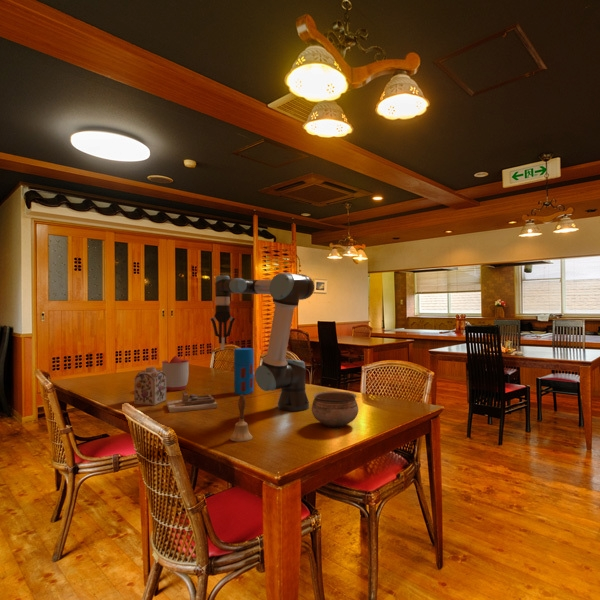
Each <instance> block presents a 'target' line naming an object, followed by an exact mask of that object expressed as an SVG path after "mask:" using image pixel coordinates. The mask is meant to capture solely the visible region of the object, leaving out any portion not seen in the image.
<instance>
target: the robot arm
mask: <svg viewBox="0 0 600 600" xmlns="http://www.w3.org/2000/svg"><path fill="white" fill-rule="evenodd" d="M214 282H215V283H214V284H215V285H214V287H215V289H214V290H215V294H214V295H215V296H214V297H215V298H214V299H215V300H214V301H215V303H214V304H215V307H214V308H215V312H214V313H215V314H214V315H213V317H211V318H210V319H209V320H210V321H211V323H212V327H213V332H214V336H215V337H217V338H218V344H220V350H221V351H225V344H226V343H227V338H228V337H229V336H230V335H231V332H232V328H233V323H234V321H235V320H236V319H235V318H234V317H232V315H231V306H230V304H231V301H230V300H231V295H230V294H248V295H249V294H251V295H270V296H271V298H272V302H273V304H274V311H273V318H272V323H271V329H270V334H269V341H268V345H267V351H266V356H264V357H263V358H262V362H261V365H259V366H257V368H256V369H255V371H254V379H255V382H256V384H257V386H258V388H260V389H261V390H262V391H266V392H269V391H270V392H272V391H276V390H280V395H279V398H278V401H277V409H279V410H280V411H285V412H286V411H287V412H300V411H301V412H302V411H305V410H308V409H309V408H310V402H309V399H308V395H307V392H306V370H307V369H306V362H305V361H303V360H299V359H291V358H286V356H287V351H288V344H289V340H290V339H289V338H290V334H291V327H292V324H293V323H292V322H293V316H294V312H295V308H297V307H298V306H299V302H300V301H301V300H302V301H303V300H307V299H309V298H310V297H311V296H312V295H313V293H314V291H315V283H314V281H313V279H312V278H311V277H310V276H308V275H306V274H298V273H290V272H280V273H276V275H274V277H272V279H247V278H242V277H235V278H234V277H233V278H230V276H229V275H217V276H215V281H214ZM216 321H217V323H218V329H217V324H216ZM228 322H229V324H228ZM227 324H228V327H227ZM222 325H223V326H222ZM222 331H223V333H222Z"/></svg>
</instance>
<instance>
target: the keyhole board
mask: <svg viewBox="0 0 600 600" xmlns="http://www.w3.org/2000/svg"><path fill="white" fill-rule="evenodd" d="M189 396H190V397H191V399H193V400H196V399H198V397H196V396H197V394H195V393H194V394H193V393H192V394H189ZM166 407H167V410H168V412H169V414H171V413H181V412H192V411H200V410H211V409H218V403H217V402H216V401H215V403H204V404H194V405H185V404H184V403H183V401H182V399H175V400H166Z"/></svg>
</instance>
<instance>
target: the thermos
mask: <svg viewBox="0 0 600 600" xmlns="http://www.w3.org/2000/svg"><path fill="white" fill-rule="evenodd" d="M233 351H234V353H233V355H234V357H233V359H234V360H233V362H234V364H233V366H234V367H233V368H234V369H233V370H234V372H233V376H234V377H233V379H234V380H233V384H234V385H233V386H234V387H233V388H234V395H237V394H238V396H240V395H244V396H246V394H248V395H252V394H253V393H254V348H252V347H243V348H242V347H239V348H234V350H233Z"/></svg>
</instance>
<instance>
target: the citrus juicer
mask: <svg viewBox="0 0 600 600" xmlns="http://www.w3.org/2000/svg"><path fill="white" fill-rule="evenodd" d="M189 361H190V360H189V359H181V358H179V357H178V356H177V355H175V356H173V357H172V358H171V359H170V361H168V360H161V363H162V364H161V367H162V368H161V371H162V372H164V373H165V374H166V391H169V392H174V391H181V390H182V391H183V390H185V389H186V388H187V386H188V385H187V384H188V382H189V366H190V365H189V364H190V363H189Z"/></svg>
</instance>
